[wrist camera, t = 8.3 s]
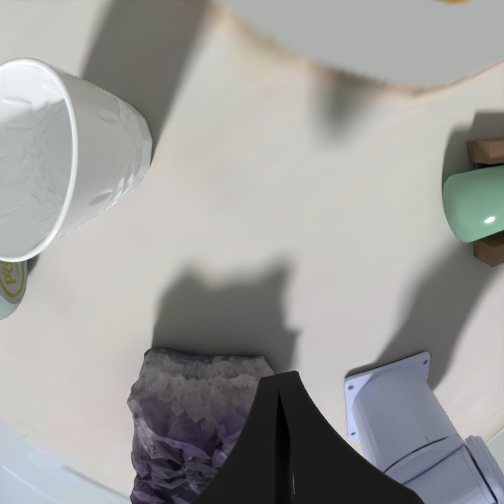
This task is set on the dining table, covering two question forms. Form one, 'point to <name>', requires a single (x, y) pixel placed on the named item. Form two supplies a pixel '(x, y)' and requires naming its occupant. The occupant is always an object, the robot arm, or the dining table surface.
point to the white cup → (61, 154)
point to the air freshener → (11, 286)
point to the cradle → (484, 155)
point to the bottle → (475, 203)
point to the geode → (187, 420)
